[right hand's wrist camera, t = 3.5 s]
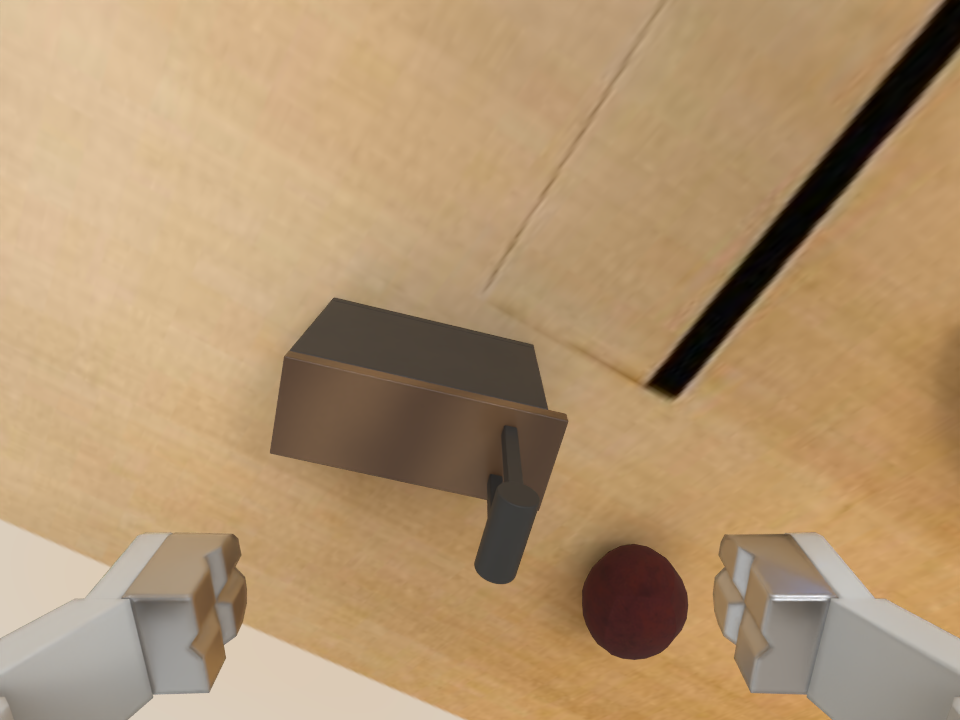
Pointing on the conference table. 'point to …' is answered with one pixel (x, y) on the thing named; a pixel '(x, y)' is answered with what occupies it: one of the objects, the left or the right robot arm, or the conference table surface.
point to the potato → (634, 602)
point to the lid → (424, 443)
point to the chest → (425, 351)
